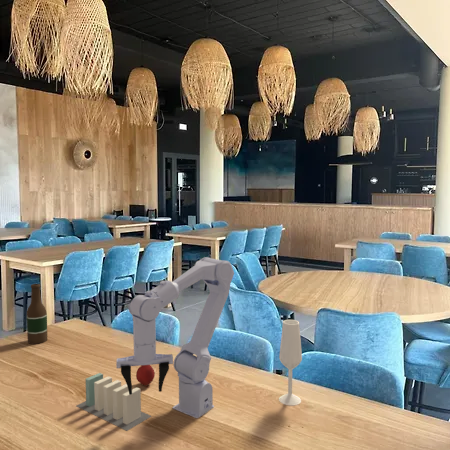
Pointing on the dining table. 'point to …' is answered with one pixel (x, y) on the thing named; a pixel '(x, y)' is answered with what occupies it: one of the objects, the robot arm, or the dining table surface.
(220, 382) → the dining table surface
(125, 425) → the runner mat
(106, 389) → the domino
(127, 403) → the domino
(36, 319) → the beer bottle
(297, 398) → the champagne flute
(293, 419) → the dining table surface
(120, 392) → the domino
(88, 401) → the domino
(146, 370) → the onion
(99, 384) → the domino
